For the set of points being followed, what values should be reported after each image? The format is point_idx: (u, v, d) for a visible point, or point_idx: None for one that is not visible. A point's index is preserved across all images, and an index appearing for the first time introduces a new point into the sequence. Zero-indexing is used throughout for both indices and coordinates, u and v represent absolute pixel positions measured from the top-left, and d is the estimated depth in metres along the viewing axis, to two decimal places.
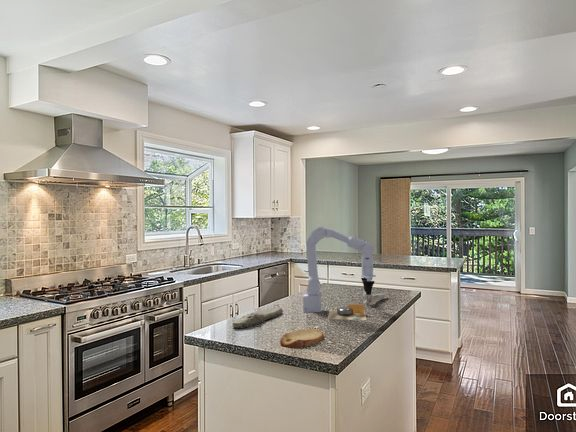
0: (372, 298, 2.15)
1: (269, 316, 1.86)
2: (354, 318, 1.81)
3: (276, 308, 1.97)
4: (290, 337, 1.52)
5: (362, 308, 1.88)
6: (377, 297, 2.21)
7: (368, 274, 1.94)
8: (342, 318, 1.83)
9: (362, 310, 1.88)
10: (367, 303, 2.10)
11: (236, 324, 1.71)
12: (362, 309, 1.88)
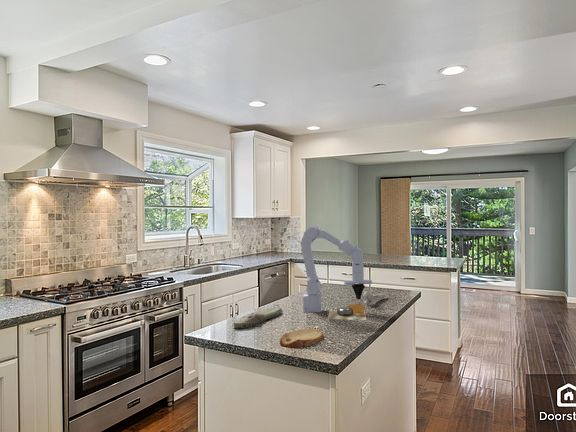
0: (372, 298, 2.15)
1: (269, 316, 1.86)
2: (354, 318, 1.81)
3: (276, 308, 1.98)
4: (290, 337, 1.53)
5: (362, 308, 1.88)
6: (377, 297, 2.21)
7: None
8: (342, 318, 1.83)
9: (362, 310, 1.88)
10: (367, 303, 2.10)
11: (237, 324, 1.71)
12: (362, 309, 1.88)
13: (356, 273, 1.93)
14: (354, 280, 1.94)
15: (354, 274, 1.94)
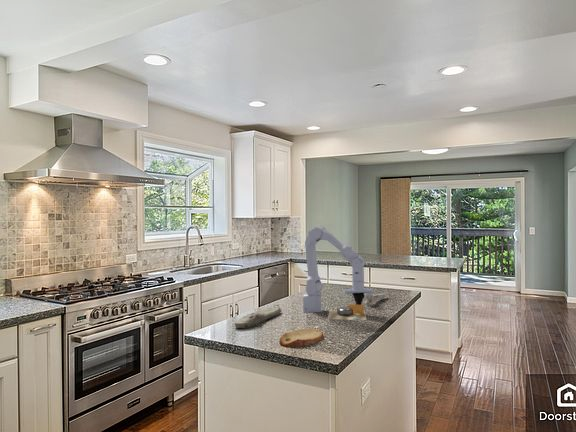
0: (372, 298, 2.15)
1: (269, 316, 1.86)
2: (354, 318, 1.81)
3: (275, 308, 1.98)
4: (289, 337, 1.53)
5: (362, 308, 1.88)
6: (377, 297, 2.21)
7: None
8: (342, 318, 1.83)
9: (362, 310, 1.88)
10: (367, 303, 2.10)
11: (238, 324, 1.71)
12: (362, 309, 1.88)
13: (355, 282, 1.89)
14: (353, 289, 1.90)
15: (353, 283, 1.90)
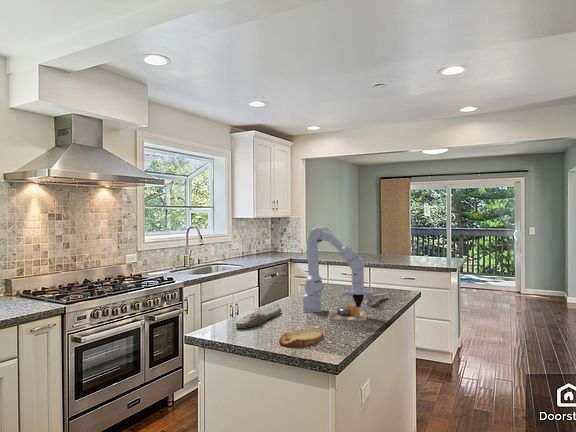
0: (372, 298, 2.15)
1: (270, 316, 1.86)
2: (354, 318, 1.81)
3: (275, 308, 1.98)
4: (289, 336, 1.53)
5: (356, 310, 1.84)
6: (377, 297, 2.21)
7: None
8: (342, 318, 1.83)
9: (356, 313, 1.83)
10: (368, 303, 2.10)
11: (239, 324, 1.70)
12: (356, 312, 1.83)
13: (354, 283, 1.85)
14: (352, 290, 1.86)
15: (352, 284, 1.86)
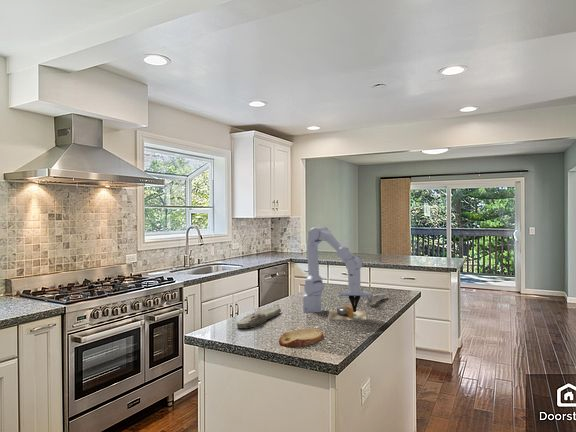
0: (372, 298, 2.15)
1: (270, 316, 1.86)
2: (354, 318, 1.81)
3: (274, 308, 1.98)
4: (289, 336, 1.53)
5: (349, 311, 1.82)
6: (377, 297, 2.21)
7: (360, 290, 1.84)
8: (342, 318, 1.83)
9: (349, 313, 1.82)
10: (368, 303, 2.10)
11: (241, 325, 1.70)
12: (349, 312, 1.82)
13: (350, 284, 1.83)
14: (348, 291, 1.84)
15: (348, 285, 1.84)
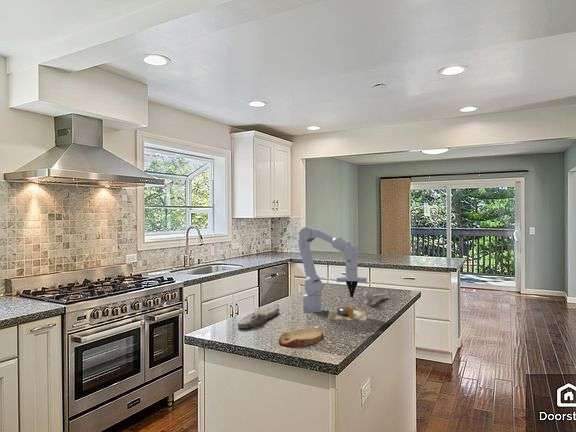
0: (372, 298, 2.15)
1: (269, 316, 1.87)
2: (354, 318, 1.81)
3: (273, 307, 1.98)
4: (289, 336, 1.53)
5: (349, 311, 1.82)
6: (377, 297, 2.21)
7: None
8: (342, 318, 1.83)
9: (349, 313, 1.82)
10: (368, 303, 2.10)
11: (242, 325, 1.70)
12: (349, 312, 1.82)
13: (348, 270, 1.87)
14: (346, 277, 1.88)
15: (346, 271, 1.88)
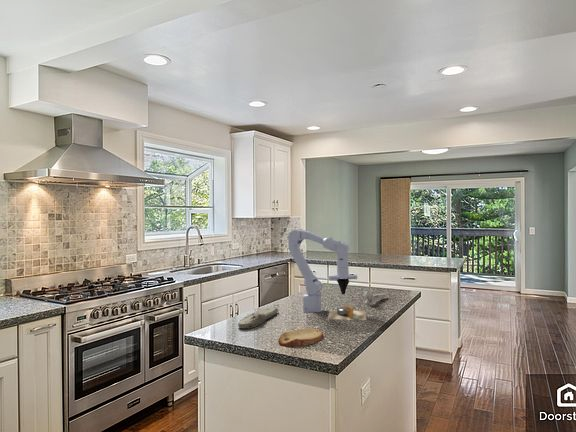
0: (372, 298, 2.15)
1: (269, 315, 1.87)
2: (354, 318, 1.81)
3: (272, 307, 1.99)
4: (289, 336, 1.53)
5: (349, 311, 1.82)
6: (378, 297, 2.21)
7: None
8: (342, 318, 1.83)
9: (349, 313, 1.82)
10: (368, 303, 2.10)
11: (243, 325, 1.70)
12: (349, 312, 1.82)
13: (340, 268, 1.93)
14: (338, 275, 1.94)
15: (338, 269, 1.94)
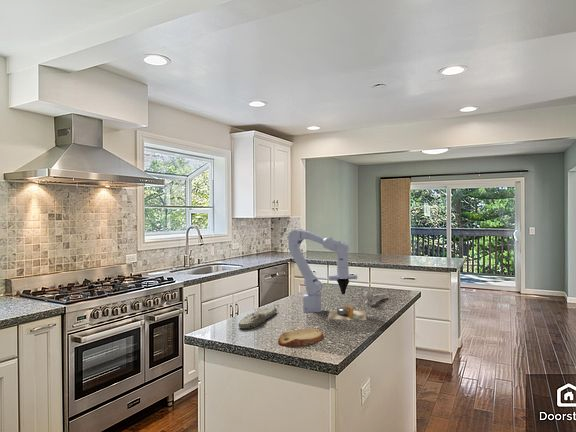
0: (373, 298, 2.15)
1: (269, 315, 1.87)
2: (354, 318, 1.81)
3: (270, 307, 1.99)
4: (288, 336, 1.54)
5: (349, 311, 1.82)
6: (378, 297, 2.21)
7: None
8: (342, 318, 1.83)
9: (349, 313, 1.82)
10: (368, 303, 2.10)
11: (243, 325, 1.70)
12: (349, 312, 1.82)
13: (340, 268, 1.93)
14: (338, 275, 1.94)
15: (338, 269, 1.94)
